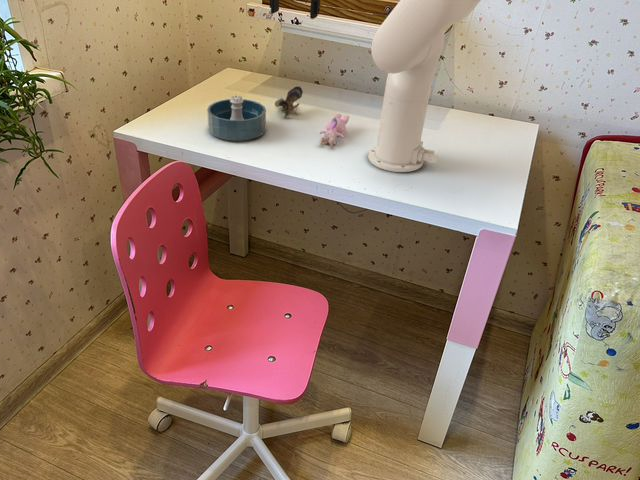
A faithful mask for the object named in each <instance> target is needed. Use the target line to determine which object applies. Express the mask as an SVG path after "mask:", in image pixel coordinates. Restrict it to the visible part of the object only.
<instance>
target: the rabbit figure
mask: <svg viewBox="0 0 640 480" xmlns="http://www.w3.org/2000/svg"><path fill="white" fill-rule="evenodd" d="M349 120H350V116H349V115H347V114H345V115H343V116H342V114H341V113H335V114H334V115H333V116H332V118H331V120H330V121H329V123H328V124H326V126H325V130H321V131H319V134H320V135H322V134H323V135H322V138H321V141H320V143H319V146H320V147H323V146H324V145H327V144H329V146H328V148H329V147H330V148H331V149H332V148H333V147H334V146H335V145H336V143H337V140H338V136H339V137H341V138H345V135H344V134H345V133H346V132H347V128H346V125H347V124H348V123H349Z"/></svg>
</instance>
